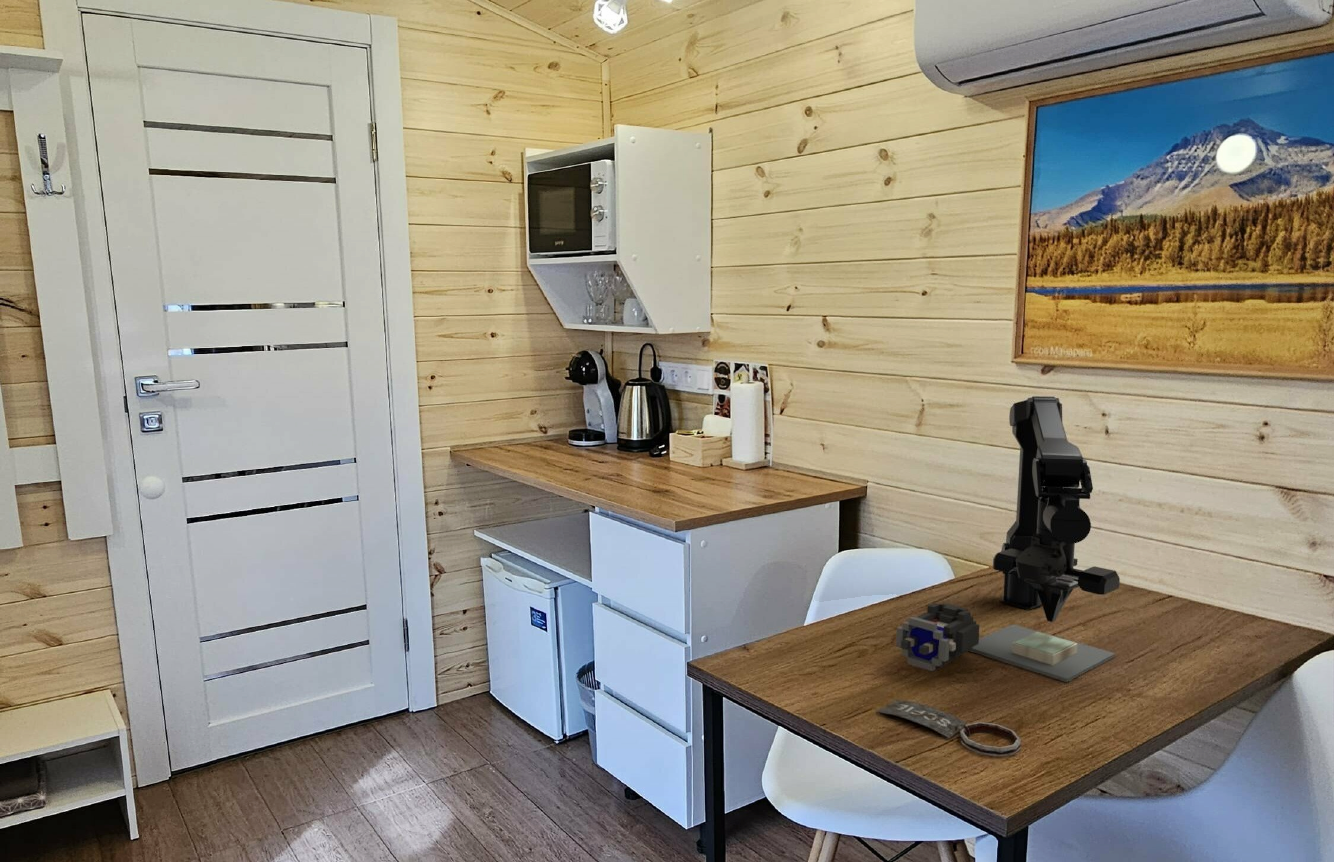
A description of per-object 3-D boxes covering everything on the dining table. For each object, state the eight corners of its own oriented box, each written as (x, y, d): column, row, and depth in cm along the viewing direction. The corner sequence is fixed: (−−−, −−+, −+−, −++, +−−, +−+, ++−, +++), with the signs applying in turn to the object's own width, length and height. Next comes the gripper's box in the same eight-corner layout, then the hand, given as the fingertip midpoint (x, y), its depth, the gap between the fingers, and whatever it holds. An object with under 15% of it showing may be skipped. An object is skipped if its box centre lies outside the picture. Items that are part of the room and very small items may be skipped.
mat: (962, 648, 149) (962, 645, 149) (1012, 627, 159) (1013, 624, 159) (1067, 682, 135) (1067, 678, 135) (1114, 656, 145) (1115, 653, 145)
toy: (889, 617, 140) (938, 596, 150) (888, 669, 141) (936, 645, 151) (939, 631, 133) (986, 608, 144) (937, 685, 135) (984, 659, 145)
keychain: (902, 701, 130) (902, 688, 130) (1031, 746, 116) (1031, 731, 116) (873, 718, 125) (873, 705, 124) (1004, 767, 111) (1005, 752, 111)
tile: (1037, 631, 151) (1077, 642, 145) (1036, 641, 151) (1077, 653, 145) (1012, 642, 146) (1053, 654, 140) (1011, 652, 146) (1052, 665, 140)
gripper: (976, 525, 145) (972, 617, 147) (1090, 548, 131) (1084, 649, 133) (1012, 515, 152) (1008, 603, 154) (1124, 536, 138) (1117, 632, 140)
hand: (1051, 621), depth 145 cm, fingers closed
